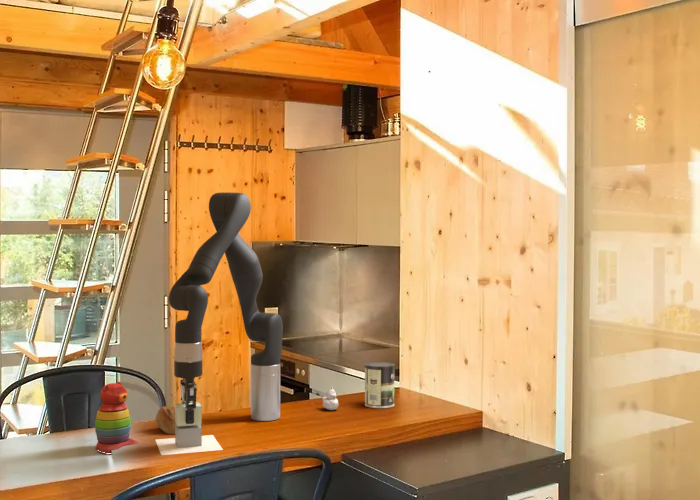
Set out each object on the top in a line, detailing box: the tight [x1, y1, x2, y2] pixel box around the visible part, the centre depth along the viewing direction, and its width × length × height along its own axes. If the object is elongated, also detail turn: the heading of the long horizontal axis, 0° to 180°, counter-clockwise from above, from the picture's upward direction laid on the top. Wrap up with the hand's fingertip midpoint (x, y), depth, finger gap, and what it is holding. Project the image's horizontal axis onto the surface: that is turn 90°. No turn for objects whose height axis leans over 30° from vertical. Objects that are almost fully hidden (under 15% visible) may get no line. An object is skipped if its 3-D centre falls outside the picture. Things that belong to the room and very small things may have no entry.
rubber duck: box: [322, 386, 339, 411], centre depth 265 cm, size 5×7×8 cm
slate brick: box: [174, 425, 203, 448], centre depth 217 cm, size 6×5×5 cm
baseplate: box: [154, 434, 224, 456], centre depth 217 cm, size 16×16×1 cm
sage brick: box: [174, 401, 203, 426], centre depth 216 cm, size 6×5×5 cm
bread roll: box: [155, 404, 176, 435], centre depth 234 cm, size 10×15×8 cm, turn 27°
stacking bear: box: [94, 381, 139, 454], centre depth 217 cm, size 11×10×18 cm
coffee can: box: [364, 361, 396, 409], centre depth 271 cm, size 10×10×14 cm
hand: (188, 420), depth 216 cm, fingers closed on sage brick, 5 cm apart
